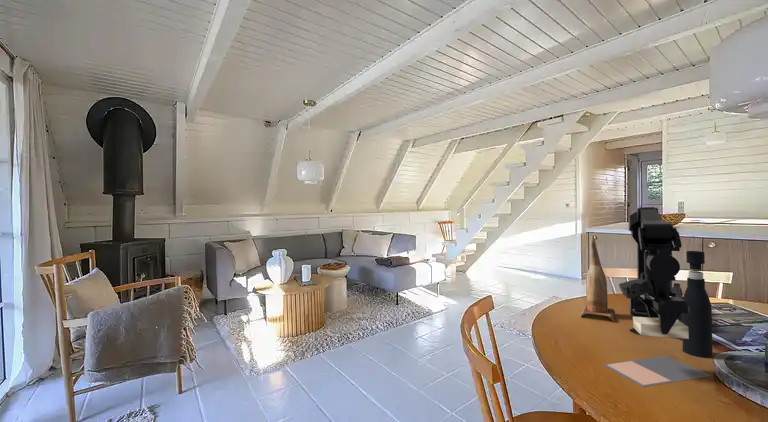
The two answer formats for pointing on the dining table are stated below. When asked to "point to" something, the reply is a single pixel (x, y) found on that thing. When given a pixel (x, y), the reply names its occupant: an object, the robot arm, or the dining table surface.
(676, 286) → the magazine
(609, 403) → the dining table surface
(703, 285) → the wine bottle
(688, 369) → the mat
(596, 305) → the brown tall tapered piece
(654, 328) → the block
